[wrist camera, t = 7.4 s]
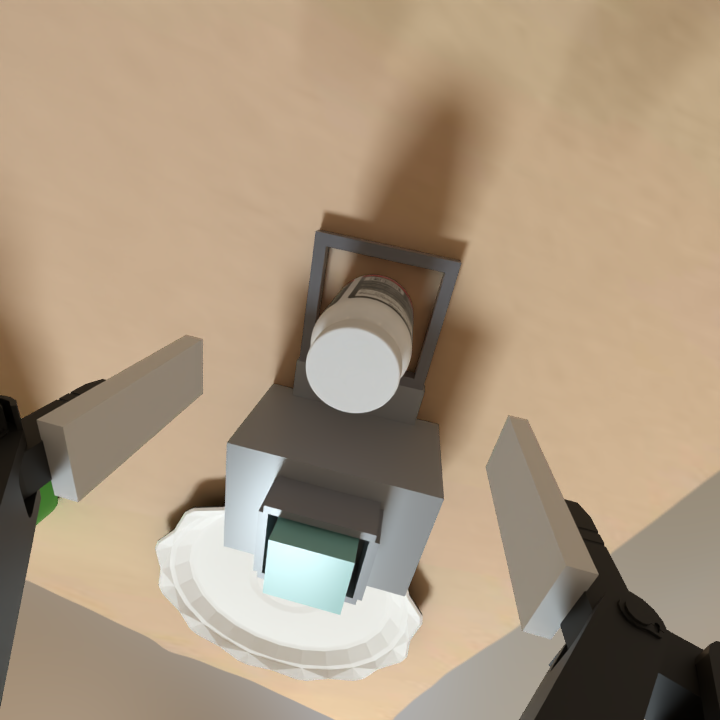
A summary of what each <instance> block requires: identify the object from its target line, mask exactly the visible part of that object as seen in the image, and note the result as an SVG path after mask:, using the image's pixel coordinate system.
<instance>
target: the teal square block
mask: <svg viewBox="0 0 720 720" xmlns="http://www.w3.org/2000/svg"><path fill="white" fill-rule="evenodd" d="M358 543H359V538H355V537H352V536H348V535H344V534H341V533H337V532H333V531H329V530H326V529H322V528H318V527H315V526H311V525H307V524H304V523H300V522H296V521H292V520H289V519H285V518H281V517H278V519H277V522H276V524H275V526H274V528H273V531H272V533H271V535H270V537H269V540H268V549H267V558H266V567H265V576H264V585H263V593H264V594H268V595H272V596H275V597H279V598H282V599H286V600H289V601H293V602H296V603H300V604H303V605H307V606H310V607H314V608H317V609H321V610H324V611H328V612H331V613H335V614H338V615H340V614H341V611H342V607H343V604H344V600H345V596H346V593H347V589H348V586H349V582H350V579H351V575H352V571H353V568H354V564H355V559H356V554H357V549H358Z"/></svg>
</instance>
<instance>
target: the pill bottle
mask: <svg viewBox="0 0 720 720" xmlns="http://www.w3.org/2000/svg"><path fill="white" fill-rule="evenodd" d="M413 318H414V313H413V306H412V302H411V299H410V297H409V295H408V294H407V292H406V291H405V289H404V288H403V287H402V286H401V285H400V284H398V283H397V282H396V281H394V280H393V279H391V278H388V277H386V276H382V275H364V276H361V277H358V278H356V279H354V280H352V281H351V282H349V283H348V284H347V285H345V286H344V287H343V288H342V290H341V291H340V292H339V293H338V295H337V296H336V297H335V298H334V300H333V301H332V302H331V303H330V305H329V306H328V307H327V308H326V309H325V311H324V312H323V313H322V314H321V316H320V317H319V319H318V320H317V322H316V324H315V326H314V328H313V331H312V336H311V347H310V349H309V351H308V354H307V358H306V375H307V379H308V381H309V384H310V386H311V388H312V389H313V391H314V392H315V393H316V395H317V396H318V397H319V398H320V399H321V400H322V401H324V402H325V403H326V404H328V405H329V406H331V407H333V408H335V409H338V410H341V411H344V412H349V413H364V412H370V411H372V410H375V409H377V408H379V407H381V406H383V405H384V404H385V403H387V402H388V401H389V400H390V399H391V397H392V396H393V395H394V394H395V392H396V390H397V388H398V385H399V382H400V378H401V377H402V376H403V375H404V373H405V371H406V370H407V368H408V365H409V363H410V359H411V354H412V338H413Z"/></svg>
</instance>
